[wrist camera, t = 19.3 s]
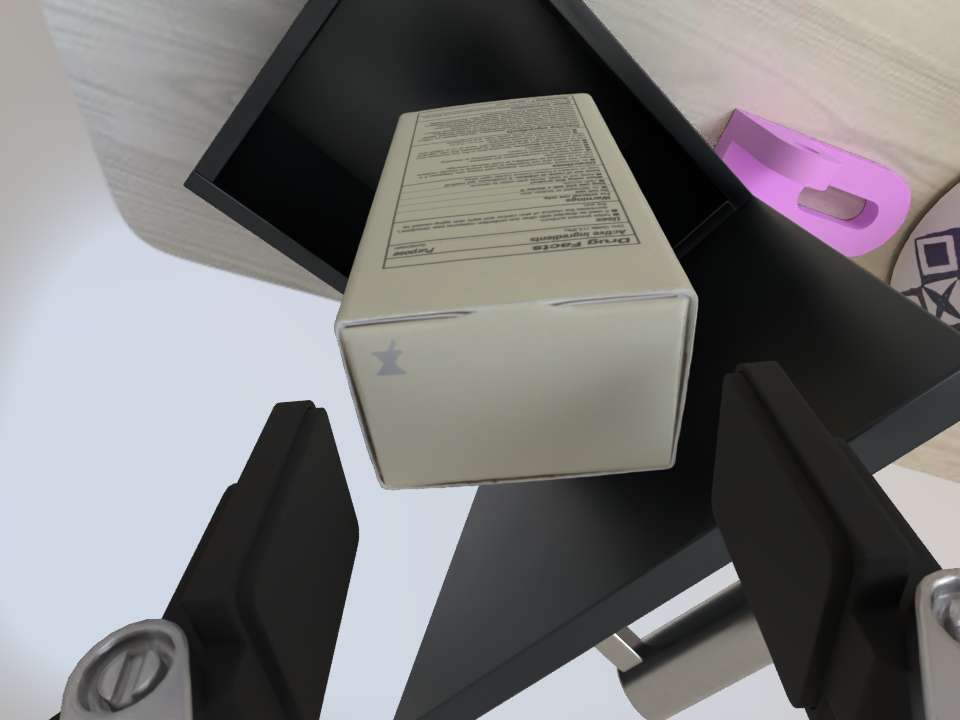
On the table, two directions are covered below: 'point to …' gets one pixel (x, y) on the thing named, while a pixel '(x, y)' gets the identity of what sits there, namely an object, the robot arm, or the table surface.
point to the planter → (934, 261)
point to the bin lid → (681, 488)
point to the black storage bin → (431, 85)
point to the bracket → (814, 182)
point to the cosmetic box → (514, 303)
